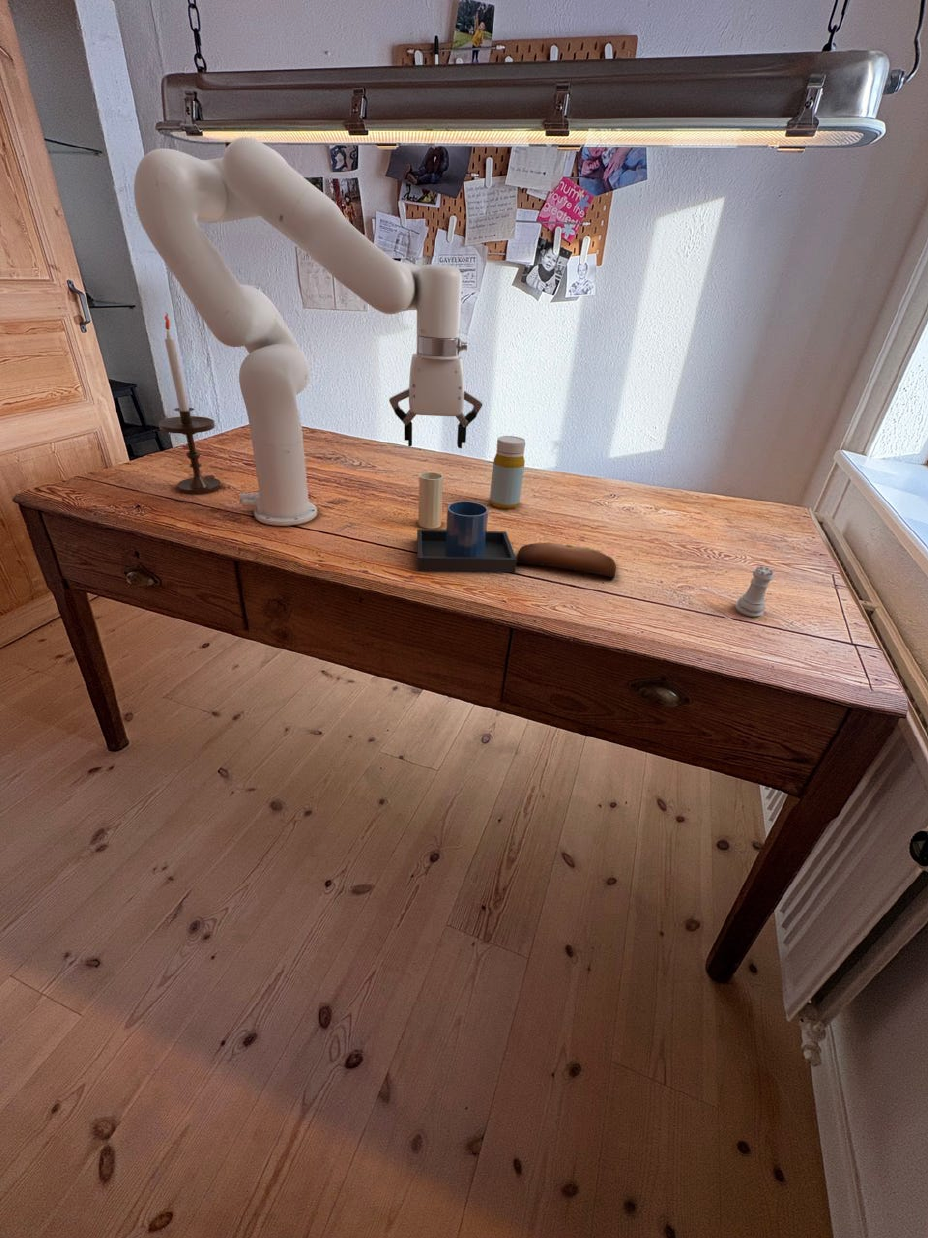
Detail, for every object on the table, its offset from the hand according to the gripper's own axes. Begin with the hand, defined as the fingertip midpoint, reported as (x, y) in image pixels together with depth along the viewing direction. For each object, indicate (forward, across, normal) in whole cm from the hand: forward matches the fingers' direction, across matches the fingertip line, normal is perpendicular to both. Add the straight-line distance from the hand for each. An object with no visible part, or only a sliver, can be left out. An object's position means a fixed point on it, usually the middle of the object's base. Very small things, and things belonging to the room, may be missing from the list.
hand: (434, 445), depth 106 cm
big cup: (+16, -6, +14) cm, 22 cm away
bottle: (+17, -17, -14) cm, 28 cm away
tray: (+17, -6, +14) cm, 23 cm away
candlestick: (+16, +53, -18) cm, 58 cm away
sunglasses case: (+17, -25, +17) cm, 34 cm away
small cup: (+17, +1, -1) cm, 17 cm away
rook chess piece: (+17, -53, +33) cm, 64 cm away
